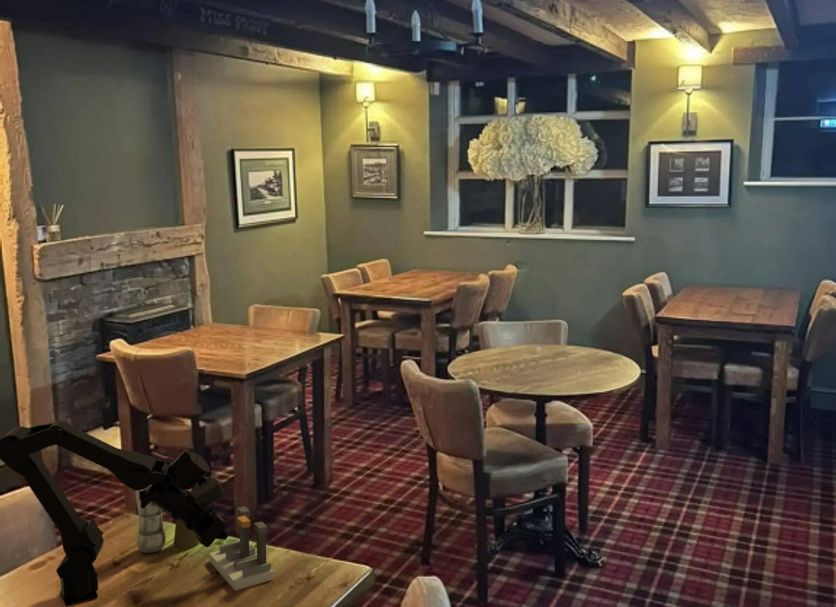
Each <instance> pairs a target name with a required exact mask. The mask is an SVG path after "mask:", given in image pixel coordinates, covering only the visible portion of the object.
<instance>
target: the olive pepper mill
mask: <svg viewBox="0 0 836 607" xmlns="http://www.w3.org/2000/svg"><path fill="white" fill-rule="evenodd" d="M174 526H175V528H174V538H173V547H174V548H175V549H178V550H188V549H192V548H195V547H198V546H199V544H200V542H199V541H198V540H197V539H196V538H195V532H194V531H193V530H192V529H191V531H190V530H189V529H187V528H186V527H185V525H184V524H182V523H181V522H179V521H178V520H177V521H176V520H175V525H174Z"/></svg>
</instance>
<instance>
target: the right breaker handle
mask: <svg viewBox="0 0 836 607" xmlns="http://www.w3.org/2000/svg"><path fill="white" fill-rule="evenodd" d="M253 526H254V527H253V529H254V530H255V536H256V538H255V539H256V541H255V543H256V554H257V565H261V564H265V563H267V536H266V534H267V533H269V532H268V529H269V528H268V525H266V524H265V523H264V522H263V521H258V522H254V523H253Z"/></svg>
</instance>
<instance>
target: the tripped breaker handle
mask: <svg viewBox="0 0 836 607" xmlns="http://www.w3.org/2000/svg"><path fill="white" fill-rule="evenodd" d="M236 519H237V520H236V521H237V524H238V530H239V531H238V532H239V541H240V558H241V559H242V558H246V557H249V546H250V529H249V528H250V527H251V520H250V519H249V517H248V518H247V517H246V516H241V517H239V516H237V517H236ZM248 527H249V528H248Z"/></svg>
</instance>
